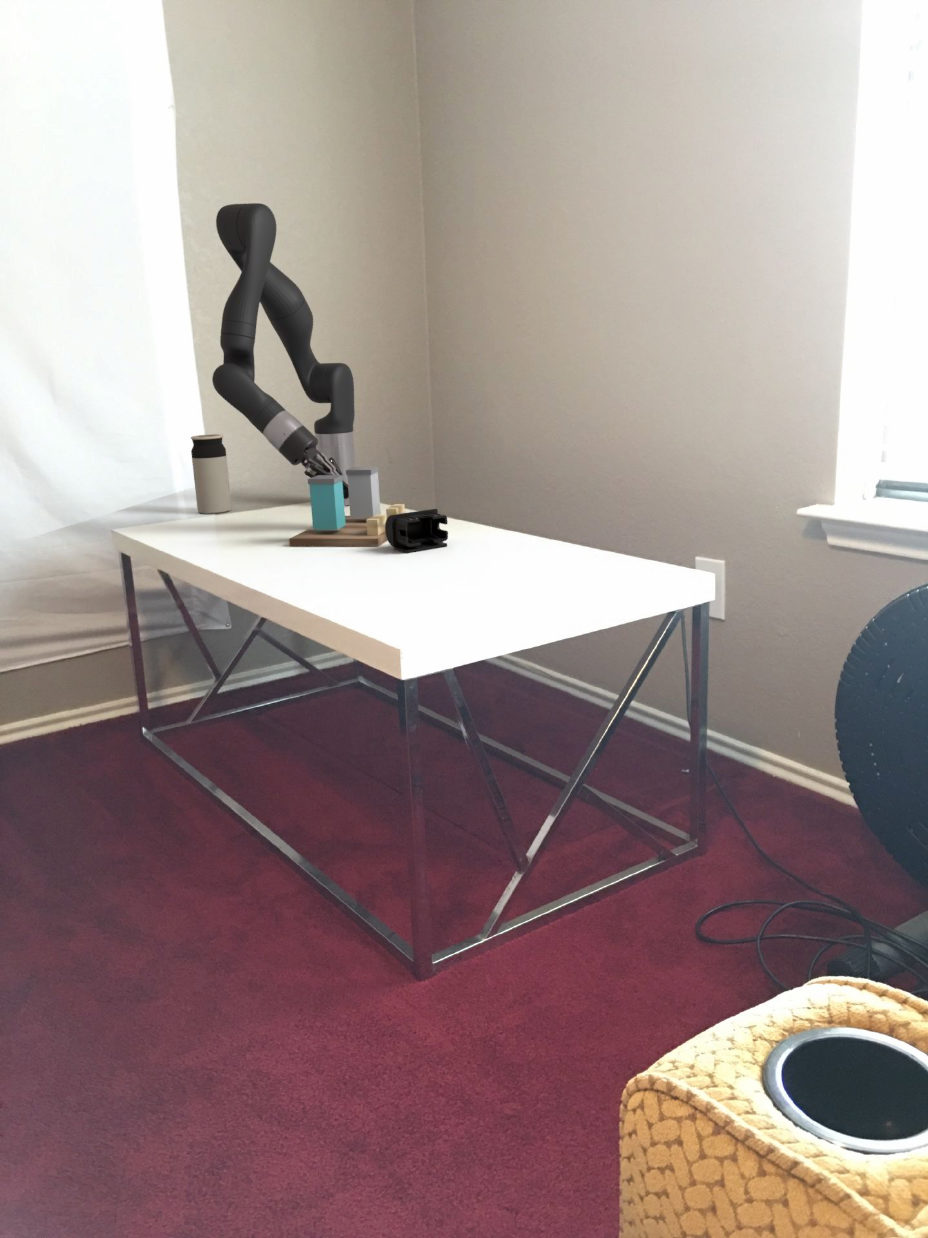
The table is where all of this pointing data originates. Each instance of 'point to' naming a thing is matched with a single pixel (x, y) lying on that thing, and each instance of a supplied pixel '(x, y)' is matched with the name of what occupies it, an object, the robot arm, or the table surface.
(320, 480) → the teal key
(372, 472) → the grey key
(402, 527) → the end cap
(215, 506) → the travel mug
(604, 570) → the table surface
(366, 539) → the key base
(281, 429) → the robot arm
